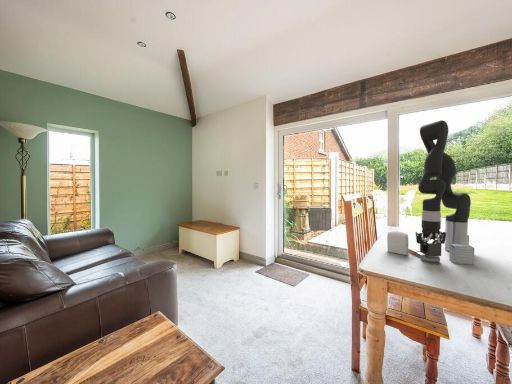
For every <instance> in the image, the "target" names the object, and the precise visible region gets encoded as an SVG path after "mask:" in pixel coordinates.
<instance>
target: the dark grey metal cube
mask: <svg viewBox="0 0 512 384" xmlns="http://www.w3.org/2000/svg"><path fill="white" fill-rule="evenodd" d="M423 243H424V242H423ZM442 247H443V245H442V243H439V242H437V241H434V240H433V239H431V240H429V242H427V244H426V253H424V252H422V251H421V244H419V250H420V253H423V254H425V255H427V256H439V257H442Z"/></svg>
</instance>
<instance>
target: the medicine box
mask: <svg viewBox="0 0 512 384" xmlns="http://www.w3.org/2000/svg"><path fill="white" fill-rule="evenodd" d="M448 260H449V261H450V262H451V263H453V264H460V265H461V264H462V265H475V247H474V246H472V245H470V244H469V245H460V244H450V251H449V259H448Z"/></svg>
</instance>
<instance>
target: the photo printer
mask: <svg viewBox="0 0 512 384" xmlns="http://www.w3.org/2000/svg"><path fill="white" fill-rule="evenodd" d="M386 247H387V252H388V253H393V254H399V255H403V256H408V255H409V252H408V248H409V235H408V234H407V233H405V232H403V231H398V230H390V231H388V232H387V246H386Z"/></svg>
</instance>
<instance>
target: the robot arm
mask: <svg viewBox="0 0 512 384" xmlns="http://www.w3.org/2000/svg"><path fill="white" fill-rule="evenodd" d="M419 136H420V137H421V138H420V139H421V141H422V144H423V145H424V148H425V150H426V152H427V156H426V157H425V160H424V165H423V174H422V177H421V179H420V181H419V184H418V186H417V189H418V191H419V193H421V194H422V195H425V194H426V195H427V194H428V195H435V196H433V197H429V198H428V197H427V198H424V199H423V200H422V211H421V229H422V230H421V231H415V238H416V239H415V241H416V244H419V245H420V244H421V251H422V252H424V253H426V244H427V242H429V240H434V241H437V242H439V243H442V244H443V245H444V250H445V251H447V252H450V244H460V245H470V235H469V234H468V231H469V230H468V226H469V223H468V222H469V217H470V212H471V204H472V203H471V202H472V200H471V196H470V195H469V194H468V193H465V192H453V190H452V181H454V179H455V176H456V174H457V167H456V164H455V161H454V159H453V157H451V156H450V155H449V154H447V153H446V152H444V151H445V148H446V145H447V142H448V136H449V125H448V123H447V122H446V121H445V120H442V119H441V120H438V121H435V122H431V123H427V124H424V125H421V126H420V128H419ZM434 141H435V142H434ZM432 178H436V179H432ZM441 203H442V204H443V206H444V207H445V208H447V209H453V210H455V212H454V213H452V214H447V215H446V216H445V225H444V228H445V230H444V231H442V230H441V225H442V224H441V223H442V214H441ZM423 242H424V243H423Z"/></svg>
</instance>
